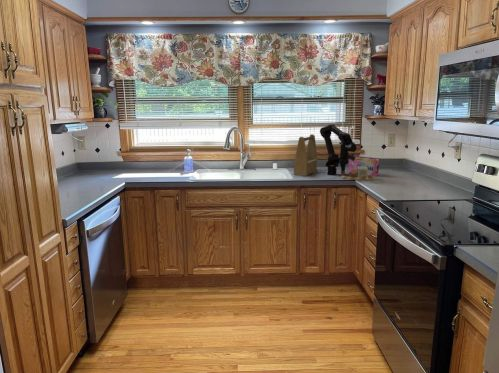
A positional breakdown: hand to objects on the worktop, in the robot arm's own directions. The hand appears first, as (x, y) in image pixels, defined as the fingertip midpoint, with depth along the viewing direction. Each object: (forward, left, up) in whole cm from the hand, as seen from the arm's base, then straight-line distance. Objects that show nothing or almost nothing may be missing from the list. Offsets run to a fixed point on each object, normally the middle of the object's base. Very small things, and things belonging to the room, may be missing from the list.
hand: (342, 171), depth 284 cm
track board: (+11, 0, -5) cm, 12 cm away
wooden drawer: (+5, 0, -3) cm, 6 cm away
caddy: (-29, +13, -5) cm, 32 cm away
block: (+8, 0, -2) cm, 8 cm away
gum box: (+16, +20, -5) cm, 26 cm away
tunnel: (+14, 0, -3) cm, 15 cm away
